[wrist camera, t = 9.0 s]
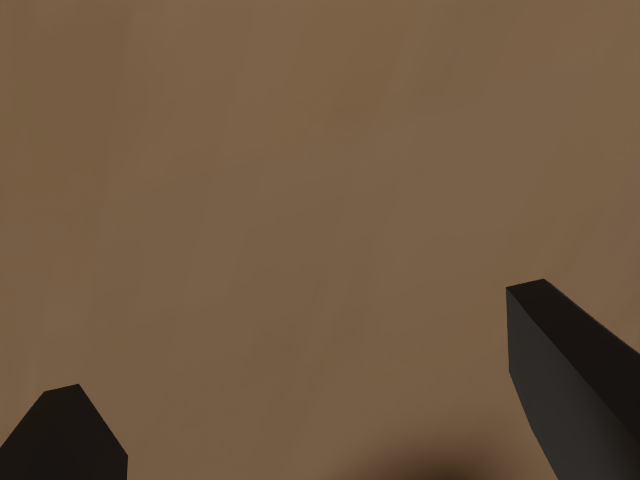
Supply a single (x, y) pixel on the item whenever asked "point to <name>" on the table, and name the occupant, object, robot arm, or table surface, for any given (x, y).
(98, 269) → the table surface
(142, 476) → the table surface
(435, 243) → the table surface
